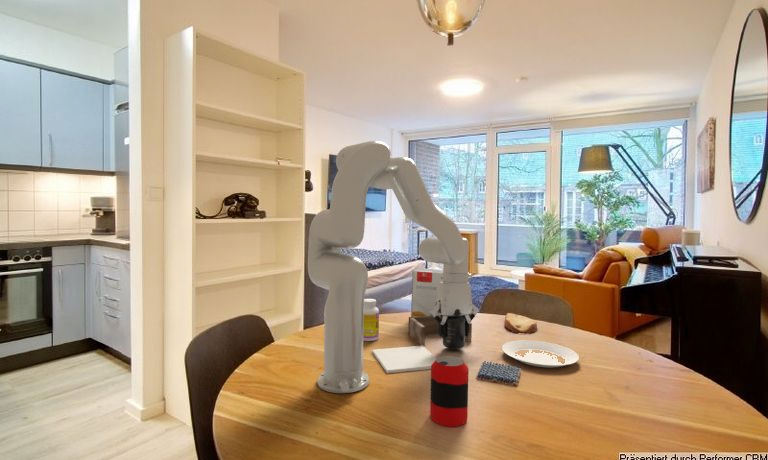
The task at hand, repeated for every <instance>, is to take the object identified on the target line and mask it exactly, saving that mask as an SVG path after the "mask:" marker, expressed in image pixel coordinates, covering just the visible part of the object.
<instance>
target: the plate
mask: <svg viewBox="0 0 768 460" xmlns="http://www.w3.org/2000/svg"><path fill="white" fill-rule="evenodd" d="M501 349H502V352H504V354H506V355H507V356H509V357H511V358H513V359H515V360H517V362H520V363H522V364H524V365H525V364H526V365H528V366H533V367H538V368H539V367H540V368H547V369H549V368H559V367H564V366H568V365H573V364H575V363H577V362H578V361H579V359H580V356H579V354H578V353H577V352H575V351H574V350H572V349H571V348H569V347H566V346H562V345H560V344H557V343H553V342H549V341H548V342H547V341H542V340H536V339H535V340H534V339H533V340H532V339H531V340H530V339H520V340H519V339H518V340H512V341H507V342H505V343H504V344H503V345H502V346H501ZM519 350H529V353H528V352H527V353H525V354H526V355H524V357H522V356H520V355H521V354H520V355H518V354H515V352H517V351H519ZM532 350H540V351H543V352H542V353H535V352H533V353H531V352H532ZM544 351H546V352H550V353H552V354H556V355H558V356H561V357H562V358H563V359H565V363H564V364H562V363H561V362H558V359H557V356H555V355H552V356H550V354H549V355H547V354H548V353H544ZM543 353H544V354H543ZM515 355H517V356H515ZM552 357H553V359H552ZM555 357H556V358H555Z"/></svg>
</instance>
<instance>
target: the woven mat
mask: <svg viewBox="0 0 768 460" xmlns="http://www.w3.org/2000/svg"><path fill="white" fill-rule="evenodd" d="M521 370H522V368H520V366H516V365H514V366H513V365H510V364H508V365H507V364H504V363H502V364H501V363H498V362H496V363H495V362H492V361H490V362H489V361H486V360H484V361H483V362H481V364H480V368H479V371H478V372H477V375H476V376H475V378H476V379H477V380H480V381H486V382H494V383H499V384H505V385H508V386H509V385H510V386H515V387H516V386H519V382H520V377H521V375H520V374H522V372H521Z"/></svg>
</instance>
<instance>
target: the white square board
mask: <svg viewBox="0 0 768 460" xmlns="http://www.w3.org/2000/svg"><path fill="white" fill-rule="evenodd" d="M371 351H372V354H373V356H374V357H375V359H376V360H377V361H378V363H379V365H381V366H382V368H383V369H384V372H386V374H393V373H394V374H395V373H403V372H404V373H405V372H413V371H423V370H425V371H426V370H431V365H432V364H433V363H434V361H435V360H436V359H437V358H438V357H436V356H435V355H434V354H433V353H431V352H430V351H429V350H428V349H427V348H426V347H425V346H421V345H416V346H415V345H413V346H402V347H390V348H388V347H387V348H377V349H376V348H375V349H372V350H371Z"/></svg>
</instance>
